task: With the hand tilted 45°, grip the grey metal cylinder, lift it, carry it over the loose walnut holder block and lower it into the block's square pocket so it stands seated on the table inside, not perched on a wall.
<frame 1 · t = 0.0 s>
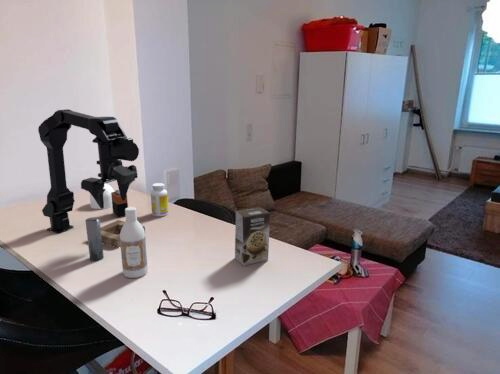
hand: (113, 204, 124), 15 cm above the table, tool pointing down, fingers open, 9 cm apart
grey metal cylinder: (96, 258, 119), on the table
supplement bottle: (160, 214, 156), on the table
battery: (120, 214, 155), on the table
holder block: (118, 237, 134), on the table
bath foam: (135, 273, 110), on the table
teardrop: (104, 205, 166), on the table
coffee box: (251, 259, 120), on the table
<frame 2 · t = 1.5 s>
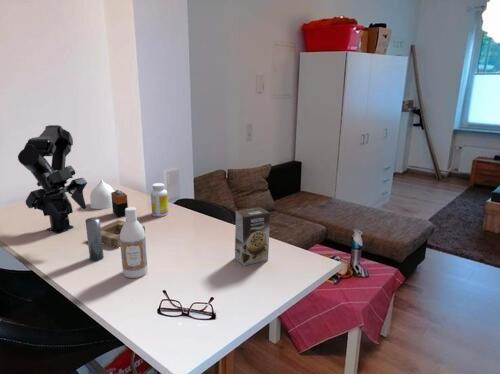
hand: (73, 213, 118), 14 cm above the table, tool tilted 45°, fingers open, 9 cm apart
nothing on the table moved.
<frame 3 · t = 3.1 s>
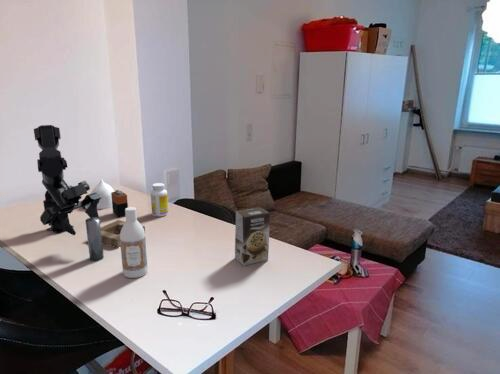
hand: (87, 229, 117), 9 cm above the table, tool tilted 45°, fingers open, 9 cm apart
nothing on the table moved.
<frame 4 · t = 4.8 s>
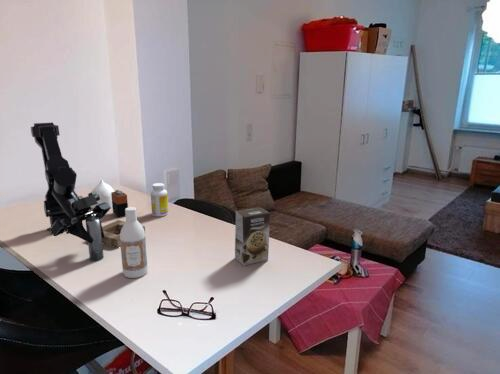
hand: (97, 239, 116), 7 cm above the table, tool tilted 45°, fingers closed on grey metal cylinder, 4 cm apart
grey metal cylinder: (96, 258, 119), on the table, touching gripper
everything else where it was.
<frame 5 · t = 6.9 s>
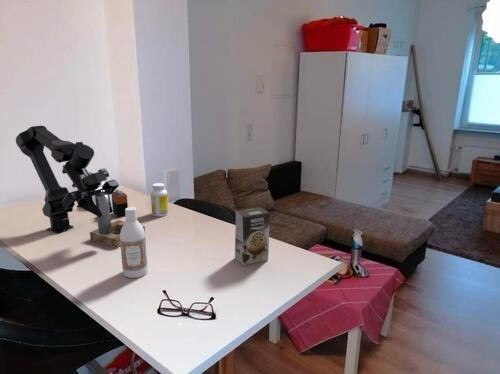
hand: (106, 214, 122), 12 cm above the table, tool tilted 45°, fingers closed on grey metal cylinder, 4 cm apart
grey metal cylinder: (105, 232, 124), point 6 cm above the table, touching gripper
everything else where it was.
when the fingers open (8 cm above the table, at t = 9.2 s): grey metal cylinder drops 1 cm, resting in holder block.
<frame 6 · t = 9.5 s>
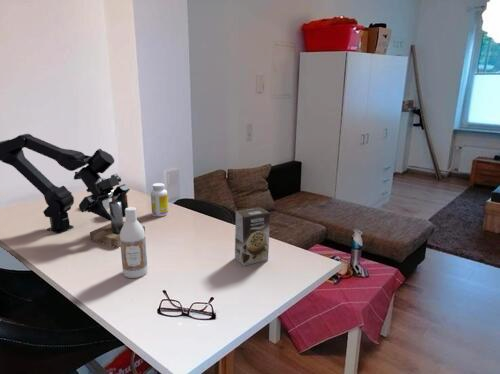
hand: (119, 216, 131), 8 cm above the table, tool tilted 45°, fingers open, 7 cm apart
grey metal cylinder: (118, 237, 134), resting in holder block
everything else where it was.
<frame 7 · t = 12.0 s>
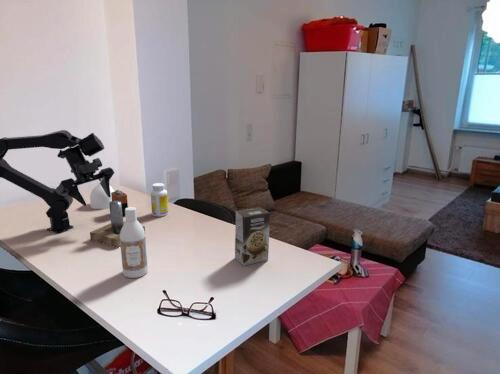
hand: (98, 201, 132), 13 cm above the table, tool tilted 35°, fingers open, 9 cm apart
nothing on the table moved.
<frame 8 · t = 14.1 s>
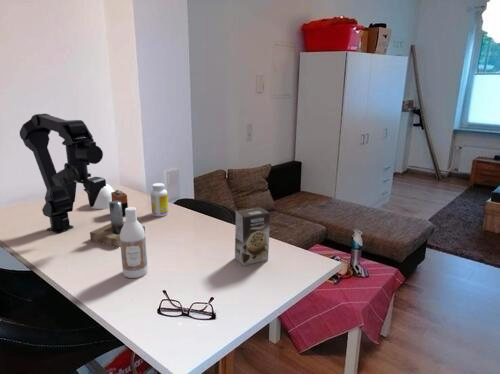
hand: (82, 204, 128), 13 cm above the table, tool pointing down, fingers open, 9 cm apart
nothing on the table moved.
at the end: grey metal cylinder 0.0 cm off-centre on the holder block, point 0.0 cm above the holder block's base; grey metal cylinder tilted 0°; holder block moved 0.0 cm from its start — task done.
